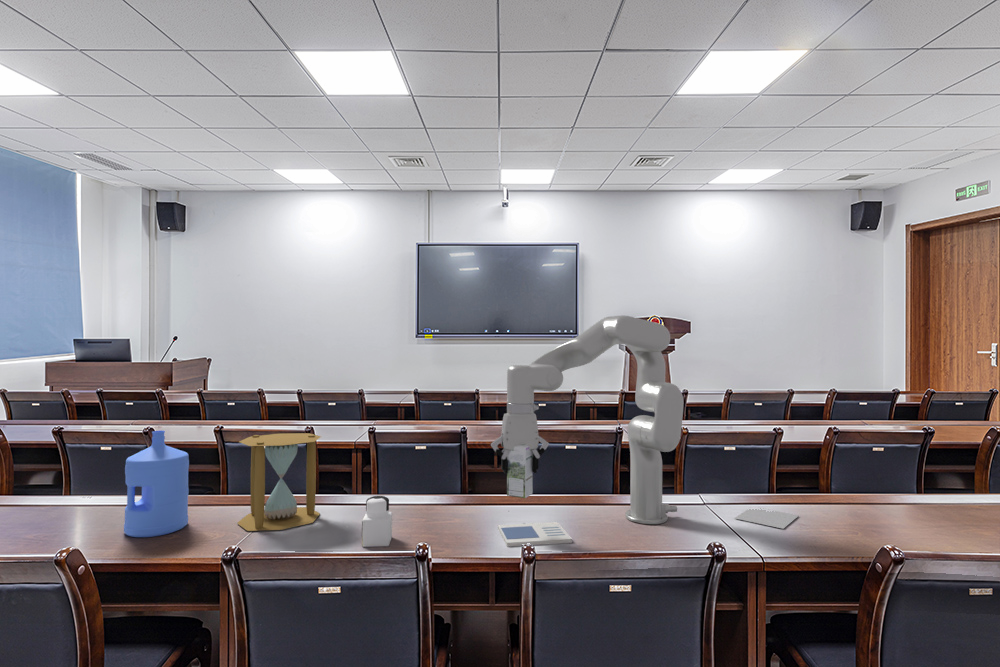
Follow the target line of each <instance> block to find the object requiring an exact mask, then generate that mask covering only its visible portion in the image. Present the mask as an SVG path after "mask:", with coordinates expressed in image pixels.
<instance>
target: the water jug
mask: <svg viewBox="0 0 1000 667" xmlns="http://www.w3.org/2000/svg"><path fill="white" fill-rule="evenodd" d="M165 432H166V430H154V431H151V434H152V437H151V445H150V446H149V447H147V448H145V449H142V450H140V451H139V452H137V453H134V454H133V455H131V456H128V457H127V458H126V460H125V467H124V474H125V475H124V476H125V480H124V481H125V485H126V486H127V488H126V489H127V490H126V493H127V496H126V506H125V507H124V524H123V532H124V534H125V535H126V536H128V537H132V538H152V537H159V536H164V535H168V534H171V533H175V532H177V531H180V530H182V529H184V528H185V527H186V526H187V525H188V523H189V515H188V514H189V512H188V509H189V507H188V506H189V494H190V493H189V492H190V491H189V490H190V488H189V467H190V458H189V453H188V452H186V451H184V450H180V449H178V448H175V447H172V446H170V445H166V444H165V439H166V438H165V437H166V436H165ZM136 487H141V498H140V499H139V500H138V501H135V500H136Z"/></svg>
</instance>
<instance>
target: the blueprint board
mask: <svg viewBox="0 0 1000 667" xmlns="http://www.w3.org/2000/svg"><path fill="white" fill-rule="evenodd" d="M497 530H498V532H499V534H500V536H501V538H502V540H503V541H504V544H505V546H506V547H508V548H509V547H522V546H521V545H522V544H527V543H530V544H533V545H532V546H538V545H554V544H570V543H571V544H572V543H573V537H571V536H570V534H569V533H568V532H567V531H566V530H565V529H564V528H563V527H562V525H561V524H560V523H559V522H558V521H553V522H551V521H550V522H534V523H520V524H519V523H516V524H498V525H497Z"/></svg>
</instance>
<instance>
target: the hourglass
mask: <svg viewBox="0 0 1000 667" xmlns="http://www.w3.org/2000/svg"><path fill="white" fill-rule="evenodd" d="M320 438H322V436H320V435H316V434H313V433H309V432H307V433H305V432H304V433H303V432H302V433H300V432H298V433H296V432H295V433H291V432H290V433H272V434H263V435H259V434H253V435H252V436H248V437H246V438H244V439H242V440H240V441H238V443H241V444H243V445H246V446H248V447H251V450H250V451H251V452H250V453H251V454H250V456H251V457H250V513H247V514H246V515H245V516H244V517H242V518H241V519H240V520H239V521H238V522H237V525H239V526H240V527H241V528H242V529H244V530H246V531H247V532H252V531H253V532H255V531H257V532H258V531H278V530H280V531H282V530H286V529H290V528H295V527H299V526H304V525H308V524H313V523H314V522H315V521H316V520H317V518H318V517H319V516H320V514H321V513H320V512H318V511H316V509H315V508H316V486H317V484H316V482H317V481H316V480H317V478H316V476H317V472H316V470H317V452H316V451H317V448H316V441H318V440H319V439H320ZM298 444H306V472H305V473H306V474H305V475H306V476H305V478H306V480H305V483H306V484H305V485H306V486H305V488H306V491H305V492H306V493H305V495H306V498H305V499H306V500H305V501H306V502H305V505H306V506H305V507H304V506H302V507H298V505H297V504H298V503H297V499H296V497H295V496H294V494H293V493H292V491H291V490H290V488H289V487H288V485H287V484H286V482H285V480H284V479H283V477H284V476H285V475H286V473H287V471H288V469H289V468H290V466H291V464H292V463H293V461H294V459H295V458H296V457H297V454H298V447H299V445H298ZM266 459H267V460H268V462H269V464H270V465H271V467H272V469H273V470H274V472H275V473H276V475H277V476H278V478H279V480H278V481H277V483H276V485H275V487H274V489H273V490H272V492H271V493H270V495H269V497H268V499H267V500H266V501H265V499H266Z"/></svg>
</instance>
